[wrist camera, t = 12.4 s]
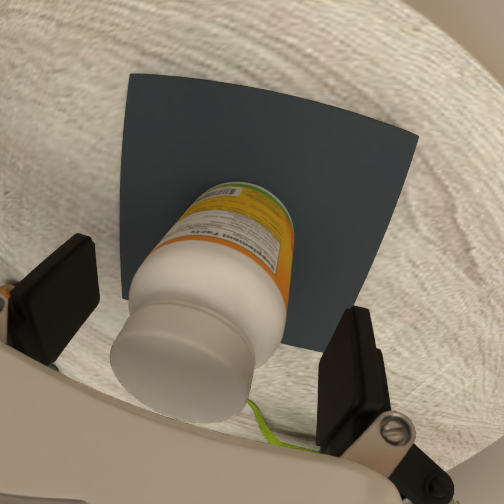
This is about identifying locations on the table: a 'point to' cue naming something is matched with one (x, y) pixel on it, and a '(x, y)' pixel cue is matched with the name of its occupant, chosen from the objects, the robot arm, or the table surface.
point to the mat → (264, 181)
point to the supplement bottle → (208, 305)
